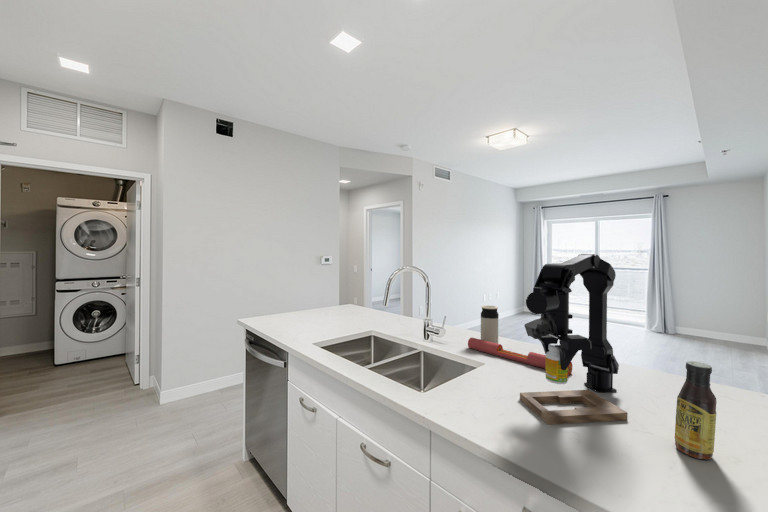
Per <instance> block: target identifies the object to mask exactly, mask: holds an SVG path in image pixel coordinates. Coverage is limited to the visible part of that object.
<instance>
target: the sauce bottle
mask: <svg viewBox="0 0 768 512" xmlns="http://www.w3.org/2000/svg"><path fill="white" fill-rule="evenodd" d="M685 369H686V376H685V381H684V383H683V385H682V387H681V389H680V391H679V393H678V395H677V397H676V407H675V408H676V409H675V426H674V427H675V428H674V441H675V442H674V445H675V447H676V449H677V450H678V451H679V452H681V453H683V454H685V455H687V456H690V457H692V458H694V459H698V460H706V461H707V460H710V459H712V458H713V456H714V455H713V454H714V452H715V438H716V437H715V436H716V424H717V422H716V421H717V410H716V409H717V398H716V396H715V393H714V392H713V391H712V389H711V382H710V381H711V375H712V373H713V367H712V366H711V365H709V364H708V363H704V362H701V361H693V360H689V361H686V363H685Z"/></svg>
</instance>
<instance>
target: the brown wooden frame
mask: <svg viewBox="0 0 768 512" xmlns="http://www.w3.org/2000/svg"><path fill="white" fill-rule="evenodd" d="M519 400H520V401H521V402H522V403H523V404H525V406H527V407H528V408H529V409H530V410H532V411H533V413H534V414H536V415H537V416H538V417H539V418H541V420H542V421H544V422H545V423H546V424H547V425H562V424H563V425H565V424H567V425H568V424H581V423H582V424H583V423H586V424H587V423H599V422H600V423H602V422H615V421H616V422H617V421H618V422H620V421H622V422H623V421H628V415H629V414H628V412H627V411H626V410H624V409H622V408H620V407H619V406H617V405H615V404H614V403H612V402H610V401H608V400H606V399H605V398H603V397H602V396H600V395H598V394H597V393H595V392H593V391H591V390H589V389H578V390H577V389H574V390H553V391H552V390H551V391H549V390H548V391H531V392H530V391H529V392H525V391H524V392H519ZM555 403H558V404H559V405H568V404H569V405H570V404H583V405H584V406H581V407H579V406H578V407H576V406H575V407H574V409H573V408H571V409H556V410H555V409H553V410H549V409H548V408H546V407H545V406H544V405H542V404H555Z"/></svg>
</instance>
